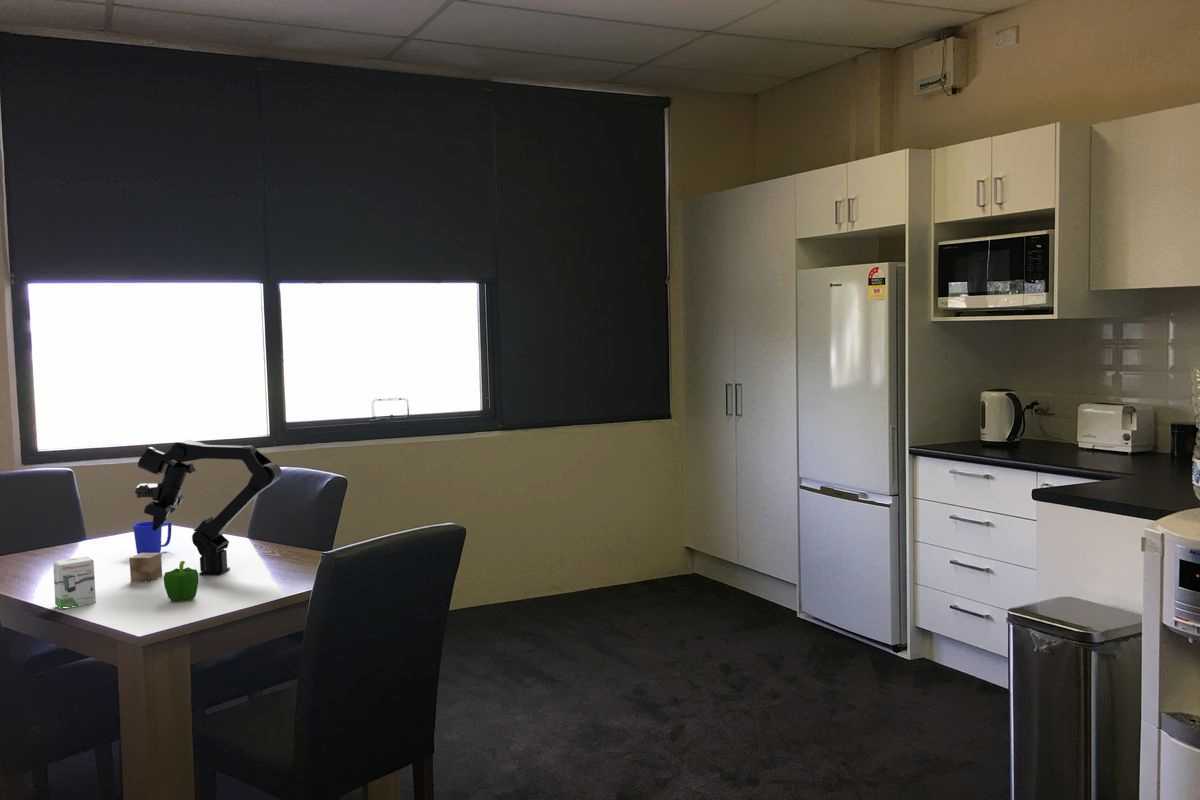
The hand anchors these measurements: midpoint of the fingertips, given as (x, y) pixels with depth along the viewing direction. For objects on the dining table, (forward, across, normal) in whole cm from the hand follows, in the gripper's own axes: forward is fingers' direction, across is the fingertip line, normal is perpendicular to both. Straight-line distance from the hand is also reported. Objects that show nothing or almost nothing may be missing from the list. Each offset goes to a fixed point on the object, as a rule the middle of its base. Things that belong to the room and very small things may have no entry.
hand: (154, 530), depth 282 cm
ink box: (+14, +31, -7) cm, 34 cm away
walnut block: (+12, +8, +4) cm, 14 cm away
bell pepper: (+4, +32, +18) cm, 37 cm away
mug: (+17, -25, -1) cm, 30 cm away
